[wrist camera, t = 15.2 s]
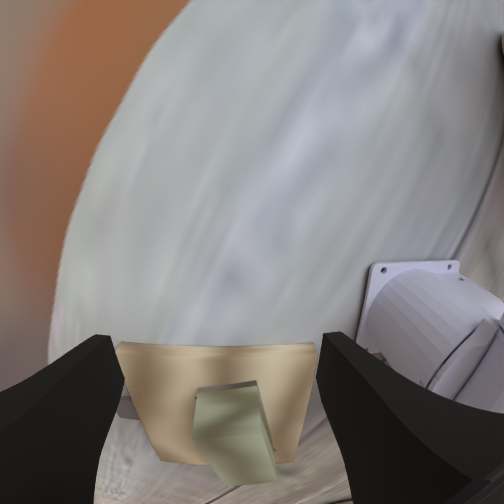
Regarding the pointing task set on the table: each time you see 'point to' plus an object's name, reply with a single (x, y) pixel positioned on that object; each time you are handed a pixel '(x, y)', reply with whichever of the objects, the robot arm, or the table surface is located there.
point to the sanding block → (234, 433)
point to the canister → (503, 42)
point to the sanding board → (213, 374)
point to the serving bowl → (345, 502)
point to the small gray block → (127, 408)
